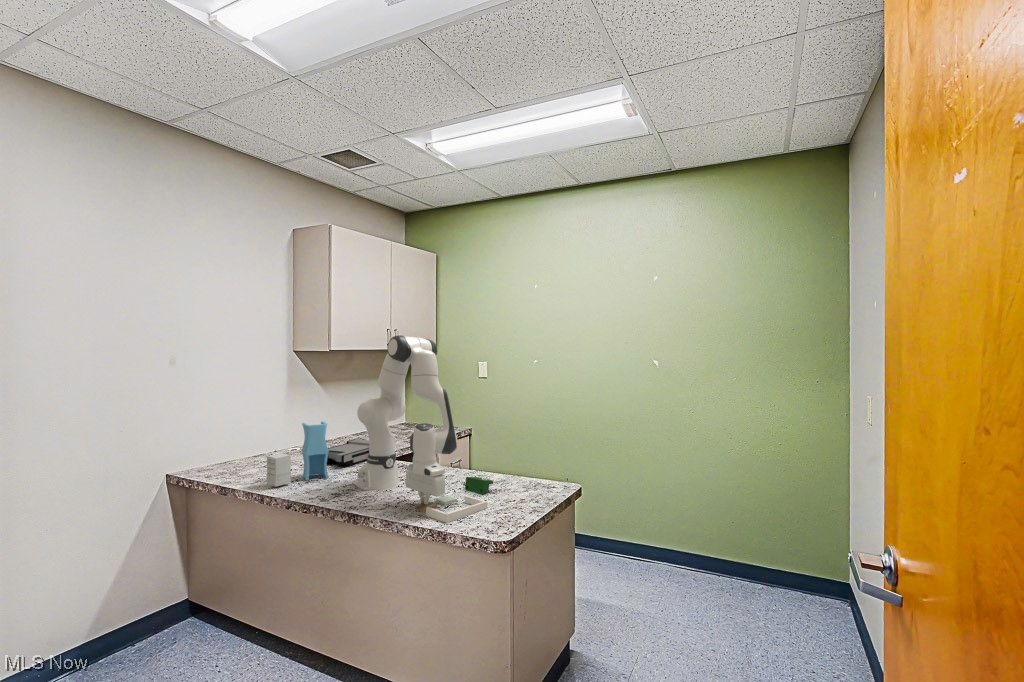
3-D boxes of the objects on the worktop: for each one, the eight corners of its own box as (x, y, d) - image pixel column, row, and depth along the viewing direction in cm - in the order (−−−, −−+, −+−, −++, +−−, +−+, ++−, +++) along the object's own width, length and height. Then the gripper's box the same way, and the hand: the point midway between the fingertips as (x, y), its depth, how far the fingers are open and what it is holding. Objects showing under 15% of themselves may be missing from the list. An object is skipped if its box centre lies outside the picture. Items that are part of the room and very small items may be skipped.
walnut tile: (414, 510, 194) (414, 504, 194) (427, 506, 198) (427, 501, 198) (424, 513, 190) (424, 508, 190) (437, 509, 194) (437, 504, 194)
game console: (312, 465, 263) (312, 449, 263) (354, 453, 293) (354, 439, 293) (343, 469, 255) (343, 453, 255) (384, 456, 284) (384, 442, 284)
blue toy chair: (323, 472, 247) (323, 421, 248) (328, 477, 239) (328, 423, 239) (301, 475, 242) (302, 422, 242) (306, 480, 234) (306, 425, 234)
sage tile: (435, 503, 201) (435, 498, 201) (447, 500, 205) (447, 495, 205) (444, 507, 197) (444, 502, 197) (456, 503, 201) (456, 498, 201)
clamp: (488, 502, 214) (497, 483, 213) (478, 502, 210) (487, 483, 209) (471, 486, 222) (480, 468, 221) (461, 486, 218) (470, 467, 217)
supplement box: (281, 480, 233) (282, 453, 233) (291, 483, 229) (291, 455, 229) (266, 484, 227) (266, 455, 227) (275, 487, 223) (275, 458, 223)
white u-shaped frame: (426, 515, 186) (426, 507, 186) (466, 503, 201) (466, 495, 201) (446, 523, 178) (446, 514, 178) (487, 509, 193) (487, 501, 193)
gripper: (401, 464, 199) (401, 499, 199) (434, 473, 185) (434, 511, 185) (414, 461, 204) (414, 496, 204) (447, 469, 190) (448, 507, 190)
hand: (424, 503), depth 194 cm, fingers closed
